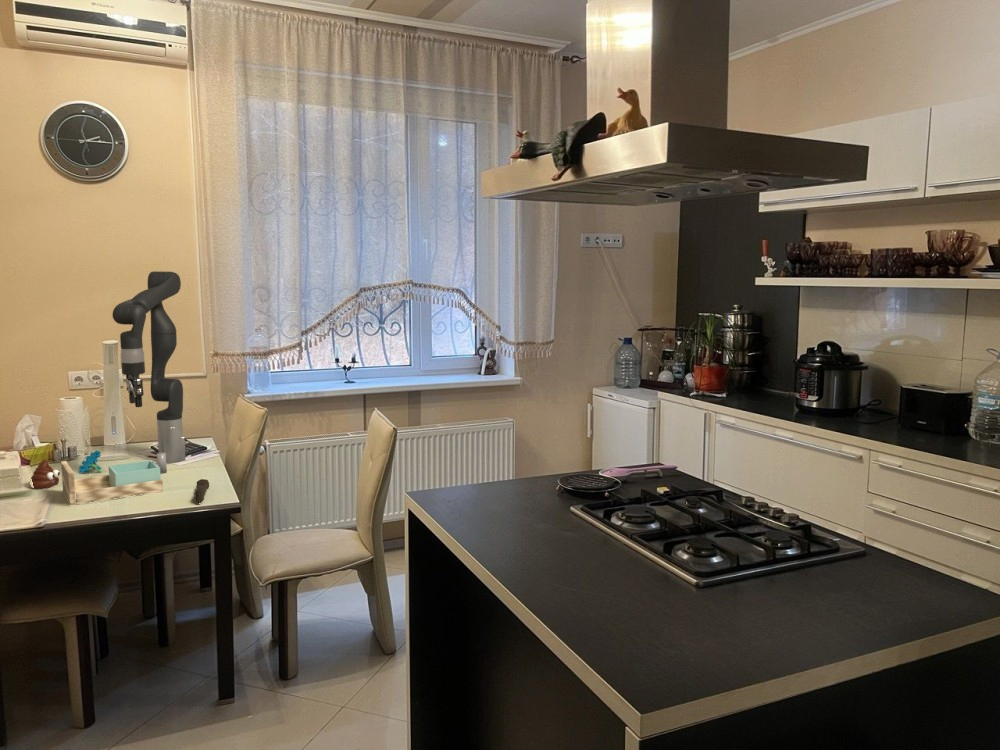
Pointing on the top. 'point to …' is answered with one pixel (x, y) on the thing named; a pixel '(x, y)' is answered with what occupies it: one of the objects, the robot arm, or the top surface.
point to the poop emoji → (44, 476)
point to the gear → (91, 462)
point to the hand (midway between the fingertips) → (135, 405)
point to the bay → (100, 487)
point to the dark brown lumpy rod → (201, 490)
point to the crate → (137, 471)
